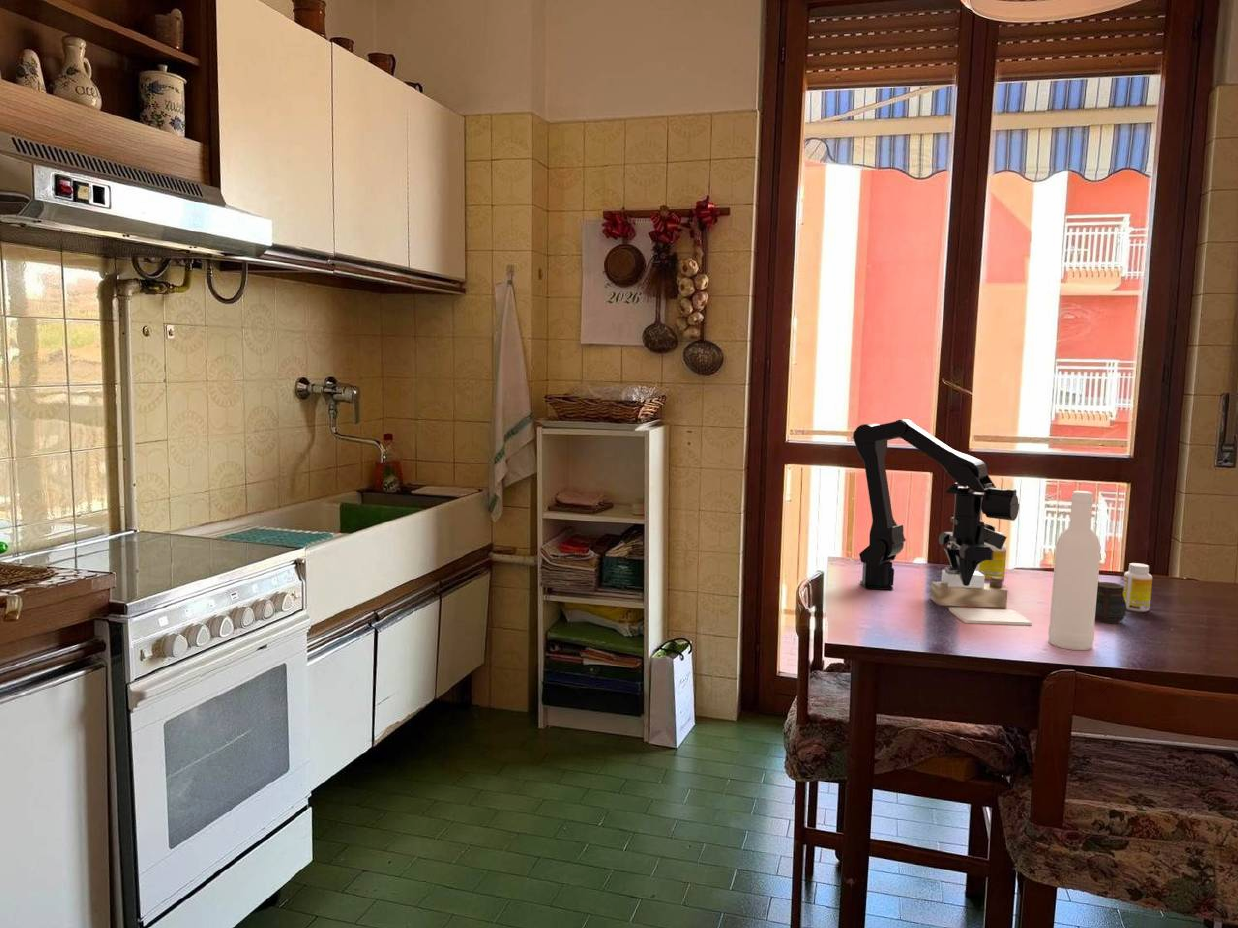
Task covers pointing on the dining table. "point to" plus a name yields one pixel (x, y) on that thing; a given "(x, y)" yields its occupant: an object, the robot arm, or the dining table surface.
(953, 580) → the lever cap
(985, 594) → the body
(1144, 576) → the supplement bottle
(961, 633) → the dining table surface
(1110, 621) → the mate gourd
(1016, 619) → the board
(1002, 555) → the supplement bottle
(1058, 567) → the bottle
